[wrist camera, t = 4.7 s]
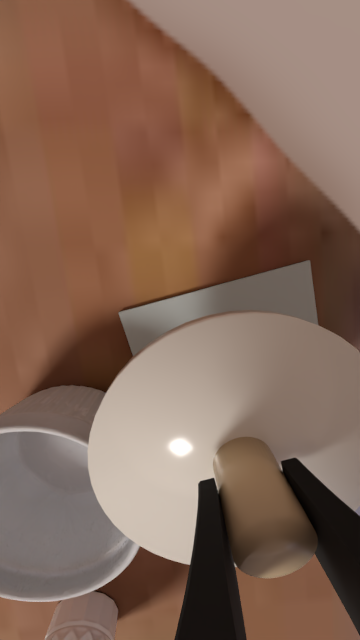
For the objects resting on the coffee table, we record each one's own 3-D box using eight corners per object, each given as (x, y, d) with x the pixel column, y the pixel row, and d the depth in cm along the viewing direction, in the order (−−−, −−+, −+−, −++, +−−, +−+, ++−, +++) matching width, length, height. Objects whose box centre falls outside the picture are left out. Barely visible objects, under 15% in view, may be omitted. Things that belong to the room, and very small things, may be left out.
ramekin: (17, 350, 18) (-77, 399, 11) (173, 393, 19) (175, 461, 12) (-8, 480, 20) (-96, 584, 14) (131, 509, 22) (114, 617, 15)
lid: (371, 272, 9) (520, 278, 5) (379, 514, 13) (471, 625, 9) (45, 357, 9) (-41, 424, 5) (142, 573, 13) (131, 706, 9)
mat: (306, 260, 17) (309, 260, 17) (328, 423, 20) (331, 426, 20) (119, 311, 17) (118, 312, 17) (170, 464, 21) (171, 468, 20)
